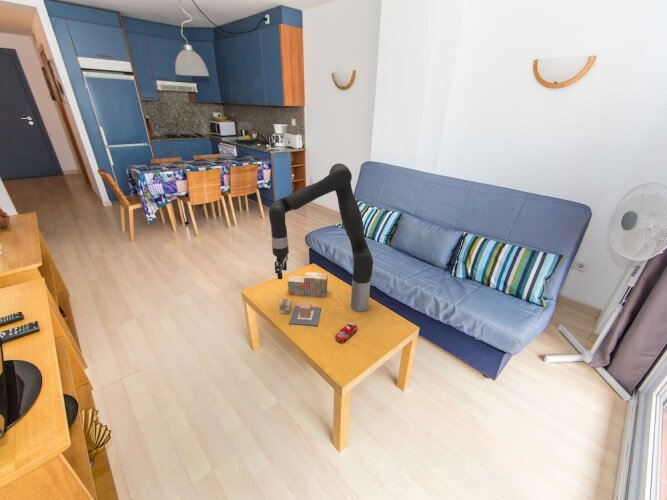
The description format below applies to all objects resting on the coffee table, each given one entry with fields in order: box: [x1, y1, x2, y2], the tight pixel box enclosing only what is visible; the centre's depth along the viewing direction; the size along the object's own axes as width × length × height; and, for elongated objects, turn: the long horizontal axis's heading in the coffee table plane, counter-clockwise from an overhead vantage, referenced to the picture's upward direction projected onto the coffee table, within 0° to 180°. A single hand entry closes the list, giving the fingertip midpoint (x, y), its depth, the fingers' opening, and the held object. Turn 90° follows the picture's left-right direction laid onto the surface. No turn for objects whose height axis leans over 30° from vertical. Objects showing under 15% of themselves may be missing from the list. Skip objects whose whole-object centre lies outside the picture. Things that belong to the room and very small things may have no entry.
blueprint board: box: [288, 305, 322, 327], centre depth 151 cm, size 14×14×1 cm
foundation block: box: [299, 301, 312, 318], centre depth 149 cm, size 5×5×6 cm
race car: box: [334, 321, 358, 344], centre depth 139 cm, size 13×5×4 cm, turn 140°
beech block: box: [278, 298, 293, 315], centre depth 153 cm, size 5×5×6 cm
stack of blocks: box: [287, 271, 328, 299], centre depth 166 cm, size 21×6×12 cm, turn 85°
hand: (282, 274), depth 147 cm, fingers open, 8 cm apart
